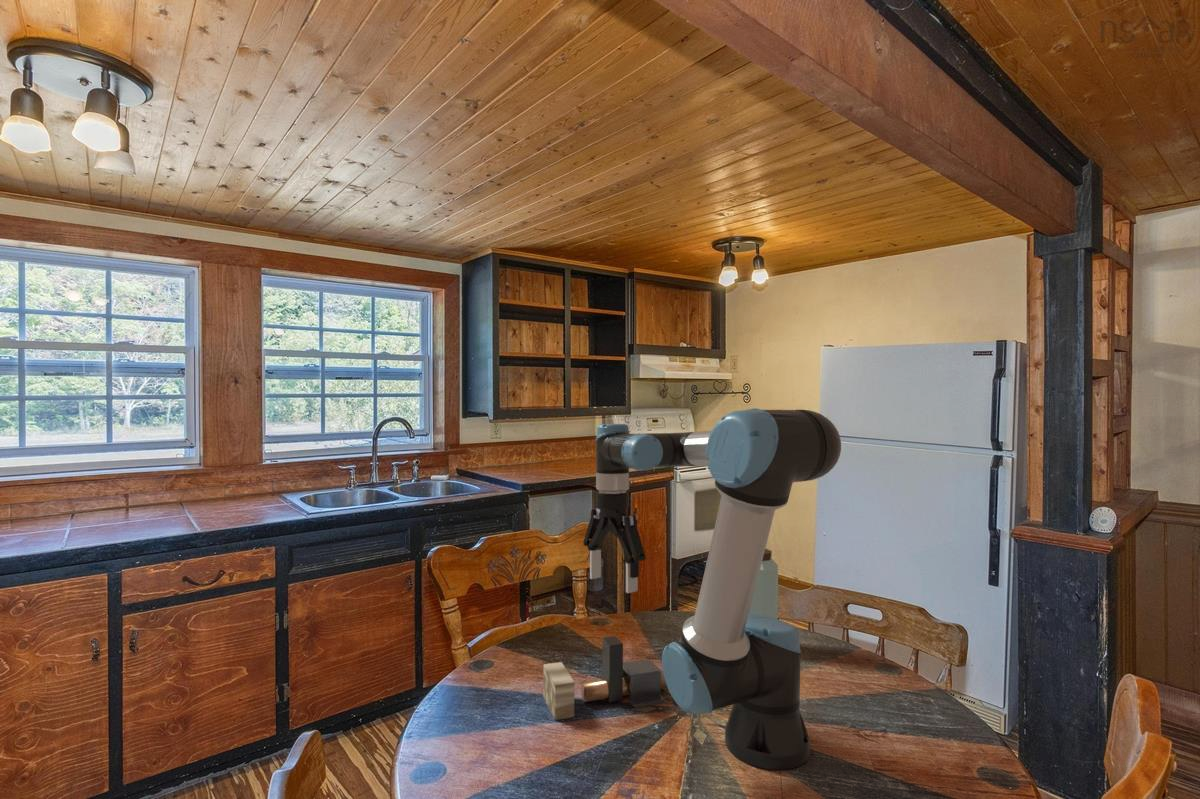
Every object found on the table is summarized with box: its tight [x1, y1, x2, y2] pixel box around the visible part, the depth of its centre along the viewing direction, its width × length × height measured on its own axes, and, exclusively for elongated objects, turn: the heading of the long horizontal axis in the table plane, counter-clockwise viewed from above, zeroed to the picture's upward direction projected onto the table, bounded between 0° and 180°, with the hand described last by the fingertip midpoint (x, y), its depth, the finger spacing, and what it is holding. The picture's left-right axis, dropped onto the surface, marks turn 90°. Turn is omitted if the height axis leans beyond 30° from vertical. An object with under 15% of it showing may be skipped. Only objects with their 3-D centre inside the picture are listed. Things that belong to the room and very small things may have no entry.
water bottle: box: [749, 548, 779, 620], centre depth 157 cm, size 10×10×25 cm
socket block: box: [542, 661, 576, 721], centre depth 125 cm, size 10×4×7 cm, turn 19°
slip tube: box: [580, 635, 668, 704], centre depth 130 cm, size 5×19×12 cm, turn 109°
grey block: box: [623, 658, 666, 709], centre depth 131 cm, size 11×7×6 cm, turn 19°
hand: (612, 584), depth 136 cm, fingers open, 13 cm apart
